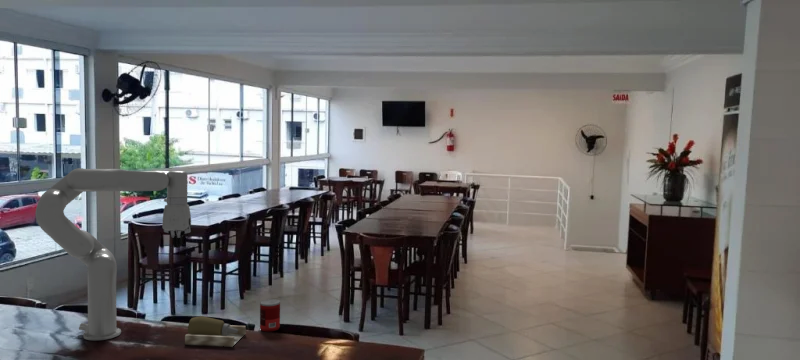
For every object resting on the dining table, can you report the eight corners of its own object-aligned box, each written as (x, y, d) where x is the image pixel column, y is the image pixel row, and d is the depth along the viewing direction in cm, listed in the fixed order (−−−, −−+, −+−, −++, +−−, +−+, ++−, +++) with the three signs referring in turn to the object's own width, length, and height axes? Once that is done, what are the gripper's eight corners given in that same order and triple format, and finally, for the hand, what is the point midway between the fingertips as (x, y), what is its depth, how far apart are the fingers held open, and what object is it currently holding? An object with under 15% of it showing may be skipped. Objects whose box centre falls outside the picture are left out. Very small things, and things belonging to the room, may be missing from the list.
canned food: (283, 327, 223) (283, 300, 222) (272, 333, 215) (273, 305, 215) (267, 324, 225) (267, 298, 225) (256, 330, 218) (256, 303, 217)
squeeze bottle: (184, 338, 202) (232, 343, 202) (188, 315, 203) (236, 321, 203) (192, 335, 210) (238, 340, 210) (195, 313, 211) (242, 319, 211)
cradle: (185, 344, 200) (185, 335, 200) (200, 332, 213) (200, 323, 213) (233, 346, 199) (233, 337, 199) (245, 334, 212) (245, 325, 212)
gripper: (154, 202, 216) (154, 248, 217) (191, 203, 215) (191, 249, 216) (163, 200, 223) (163, 244, 224) (199, 201, 222) (199, 246, 223)
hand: (177, 247), depth 220 cm, fingers closed
